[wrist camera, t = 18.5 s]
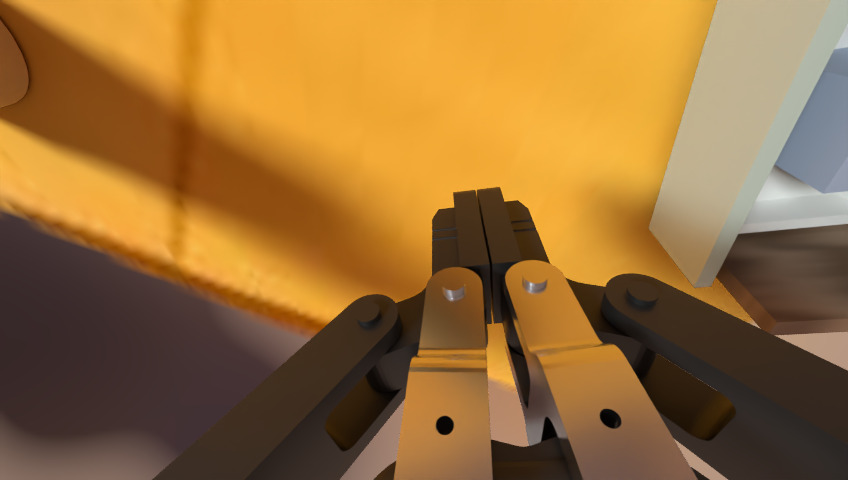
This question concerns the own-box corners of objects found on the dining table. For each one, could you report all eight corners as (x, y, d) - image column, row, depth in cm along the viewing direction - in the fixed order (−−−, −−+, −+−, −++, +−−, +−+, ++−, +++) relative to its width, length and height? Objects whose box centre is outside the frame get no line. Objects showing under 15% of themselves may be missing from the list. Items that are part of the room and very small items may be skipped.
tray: (648, 228, 27) (694, 287, 22) (749, -103, 15) (895, -136, 10) (815, 211, 25) (906, 272, 20) (1075, -176, 14) (1445, -260, 9)
